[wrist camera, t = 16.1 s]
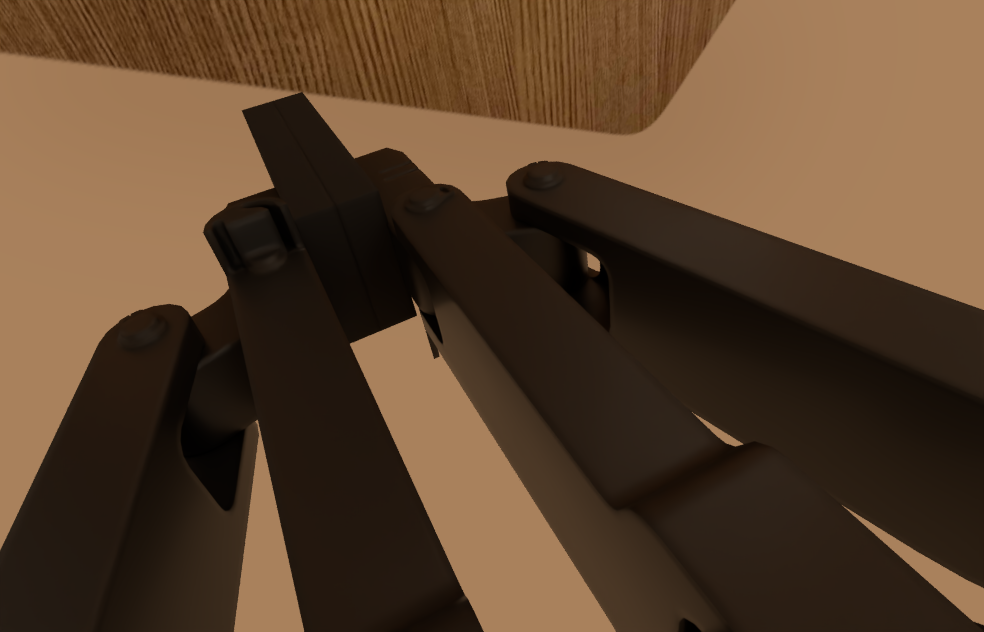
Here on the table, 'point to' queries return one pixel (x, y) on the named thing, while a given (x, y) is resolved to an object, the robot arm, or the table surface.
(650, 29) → the table surface
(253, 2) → the table surface
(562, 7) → the table surface
